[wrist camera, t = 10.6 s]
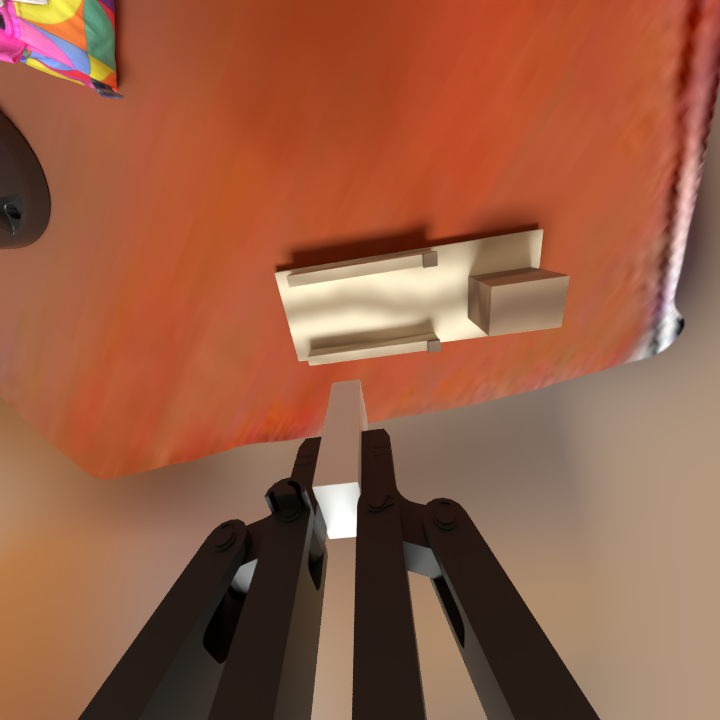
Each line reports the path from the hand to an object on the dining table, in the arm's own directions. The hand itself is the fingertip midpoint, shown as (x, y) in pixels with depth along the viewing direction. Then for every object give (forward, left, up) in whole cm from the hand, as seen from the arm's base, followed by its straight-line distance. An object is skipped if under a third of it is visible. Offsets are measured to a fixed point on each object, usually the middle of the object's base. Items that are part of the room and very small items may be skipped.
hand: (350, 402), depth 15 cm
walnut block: (+1, +17, -20) cm, 26 cm away
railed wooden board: (0, +6, -21) cm, 22 cm away
